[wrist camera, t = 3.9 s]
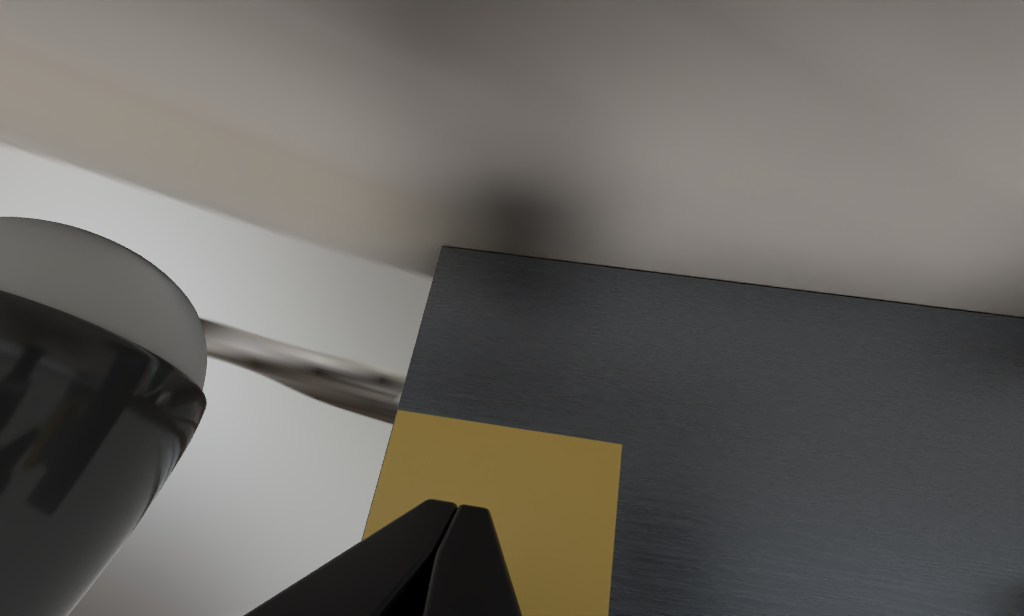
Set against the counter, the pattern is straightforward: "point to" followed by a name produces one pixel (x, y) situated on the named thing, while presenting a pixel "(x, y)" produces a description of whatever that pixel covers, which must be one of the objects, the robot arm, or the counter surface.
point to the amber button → (515, 501)
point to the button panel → (753, 432)
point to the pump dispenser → (85, 405)
